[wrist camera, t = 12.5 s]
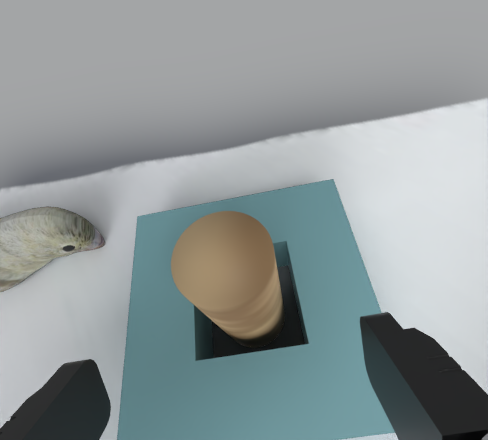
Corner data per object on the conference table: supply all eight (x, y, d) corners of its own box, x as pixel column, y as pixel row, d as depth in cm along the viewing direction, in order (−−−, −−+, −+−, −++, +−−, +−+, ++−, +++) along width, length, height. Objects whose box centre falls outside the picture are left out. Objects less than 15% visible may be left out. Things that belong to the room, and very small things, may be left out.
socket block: (151, 453, 17) (114, 467, 14) (159, 241, 24) (137, 216, 21) (397, 422, 16) (423, 429, 13) (328, 210, 23) (333, 178, 20)
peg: (226, 352, 19) (170, 317, 11) (221, 290, 21) (171, 220, 13) (290, 342, 19) (283, 298, 10) (278, 280, 21) (265, 202, 13)
